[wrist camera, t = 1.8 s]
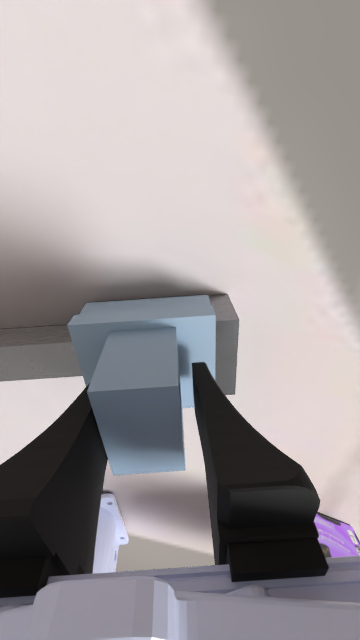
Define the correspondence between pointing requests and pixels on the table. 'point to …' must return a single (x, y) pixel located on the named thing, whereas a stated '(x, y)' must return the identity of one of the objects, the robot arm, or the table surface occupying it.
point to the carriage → (143, 374)
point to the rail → (61, 360)
